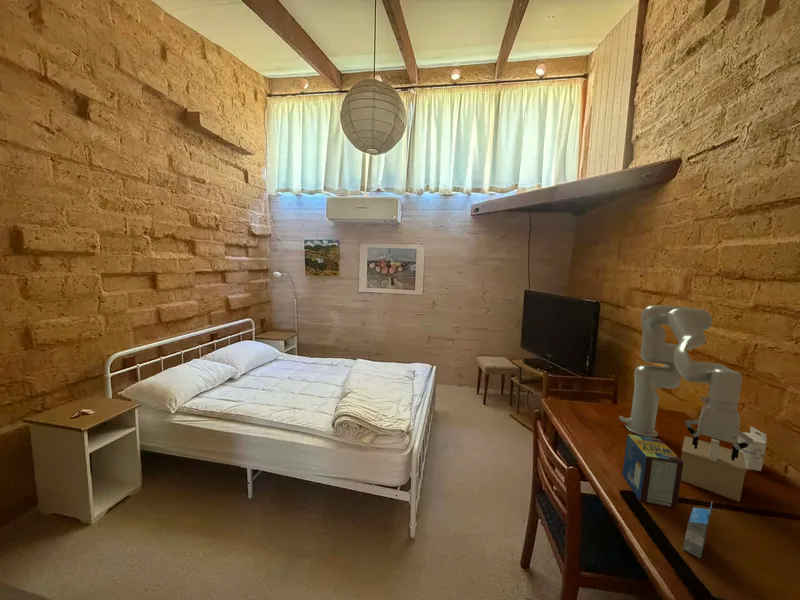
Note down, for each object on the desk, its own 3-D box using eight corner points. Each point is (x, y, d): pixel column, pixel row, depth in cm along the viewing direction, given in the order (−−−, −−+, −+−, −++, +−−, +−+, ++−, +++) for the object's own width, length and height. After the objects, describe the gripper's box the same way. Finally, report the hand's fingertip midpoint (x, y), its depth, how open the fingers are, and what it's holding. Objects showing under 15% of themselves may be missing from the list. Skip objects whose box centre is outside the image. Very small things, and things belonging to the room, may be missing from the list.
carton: (677, 479, 124) (682, 452, 123) (681, 462, 136) (685, 438, 135) (739, 501, 113) (744, 473, 112) (737, 481, 125) (742, 455, 124)
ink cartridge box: (730, 457, 142) (736, 423, 141) (744, 459, 141) (751, 425, 140) (747, 469, 134) (753, 433, 133) (762, 471, 133) (769, 435, 132)
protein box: (654, 480, 123) (660, 438, 121) (677, 509, 108) (684, 462, 106) (621, 474, 125) (627, 433, 123) (639, 501, 110) (646, 455, 109)
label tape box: (687, 533, 97) (693, 493, 96) (706, 542, 94) (713, 500, 93) (681, 549, 91) (689, 506, 90) (702, 560, 88) (709, 515, 87)
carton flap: (681, 452, 123) (684, 434, 122) (684, 437, 135) (687, 421, 134) (745, 473, 112) (749, 453, 111) (743, 455, 124) (746, 437, 123)
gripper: (688, 399, 120) (680, 446, 122) (759, 417, 108) (750, 468, 110) (689, 394, 125) (682, 439, 127) (757, 410, 114) (748, 460, 115)
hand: (713, 453), depth 118 cm, fingers open, 9 cm apart
